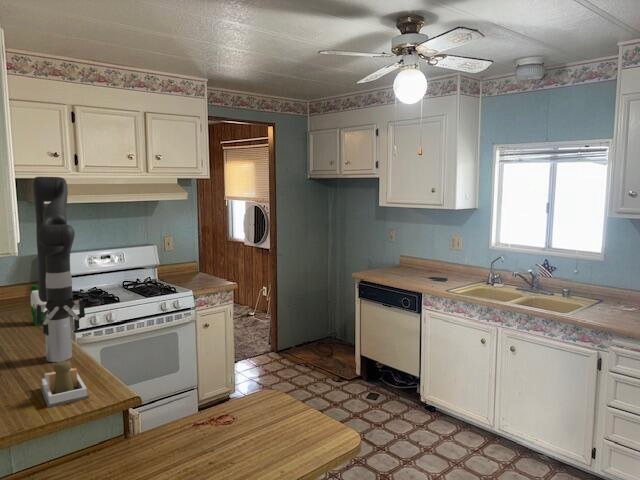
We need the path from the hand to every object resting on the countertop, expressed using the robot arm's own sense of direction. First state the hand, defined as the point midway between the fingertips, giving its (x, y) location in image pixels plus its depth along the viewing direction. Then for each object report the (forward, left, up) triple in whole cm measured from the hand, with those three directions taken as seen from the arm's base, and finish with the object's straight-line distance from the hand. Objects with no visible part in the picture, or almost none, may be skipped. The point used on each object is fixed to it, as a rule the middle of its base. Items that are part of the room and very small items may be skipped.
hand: (61, 332), depth 160 cm
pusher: (-3, 0, -20) cm, 21 cm away
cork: (+1, 0, -21) cm, 21 cm away
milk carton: (-100, +5, -22) cm, 103 cm away
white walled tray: (-1, 0, -22) cm, 22 cm away
